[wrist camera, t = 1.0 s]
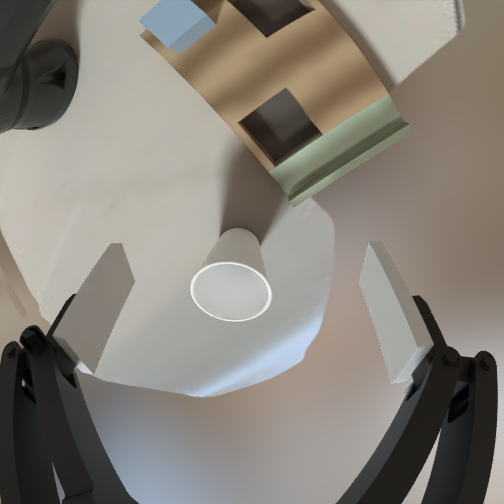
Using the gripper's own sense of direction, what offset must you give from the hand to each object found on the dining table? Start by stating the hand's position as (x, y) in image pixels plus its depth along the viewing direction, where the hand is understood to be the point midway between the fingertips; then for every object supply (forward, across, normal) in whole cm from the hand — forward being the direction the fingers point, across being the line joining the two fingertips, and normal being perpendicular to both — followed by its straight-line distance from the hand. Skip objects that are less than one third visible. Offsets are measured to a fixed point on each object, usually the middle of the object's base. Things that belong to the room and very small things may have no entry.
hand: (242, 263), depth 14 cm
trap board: (+24, +3, +11) cm, 26 cm away
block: (+21, -7, +17) cm, 28 cm away
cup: (+23, -3, -14) cm, 28 cm away
